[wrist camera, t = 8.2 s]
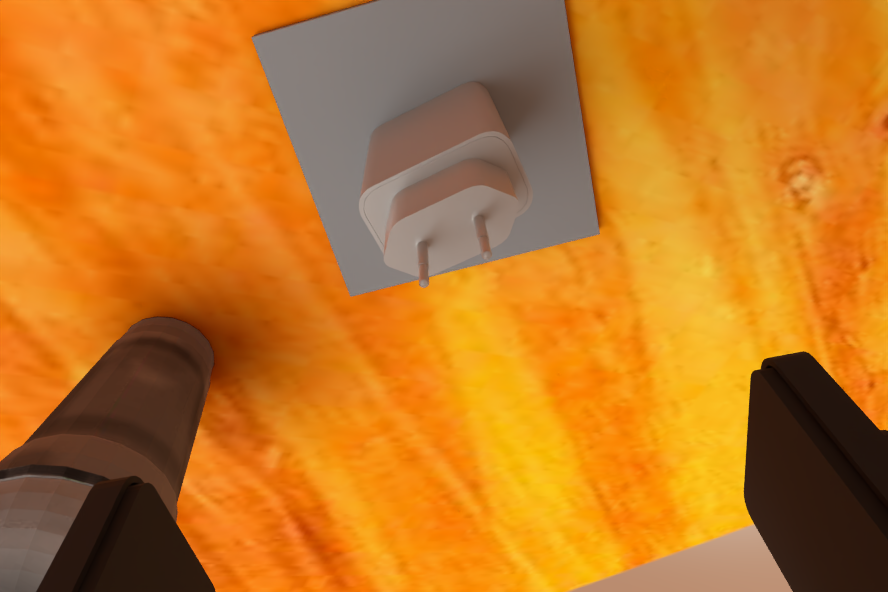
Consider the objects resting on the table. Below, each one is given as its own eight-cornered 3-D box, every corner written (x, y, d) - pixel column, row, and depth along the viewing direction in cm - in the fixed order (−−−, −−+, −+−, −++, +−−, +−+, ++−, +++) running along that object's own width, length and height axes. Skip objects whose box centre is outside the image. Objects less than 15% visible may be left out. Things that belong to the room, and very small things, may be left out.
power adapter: (510, 142, 28) (572, 275, 18) (397, 197, 29) (392, 353, 19) (480, 74, 27) (528, 175, 16) (362, 134, 28) (335, 265, 17)
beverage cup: (144, 427, 35) (-107, 914, 18) (61, 320, 32) (-350, 796, 15) (267, 386, 35) (126, 859, 17) (195, 271, 31) (-75, 720, 14)
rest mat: (254, 35, 26) (251, 37, 25) (553, -52, 25) (556, -52, 24) (351, 290, 32) (350, 296, 31) (596, 228, 31) (599, 233, 30)
